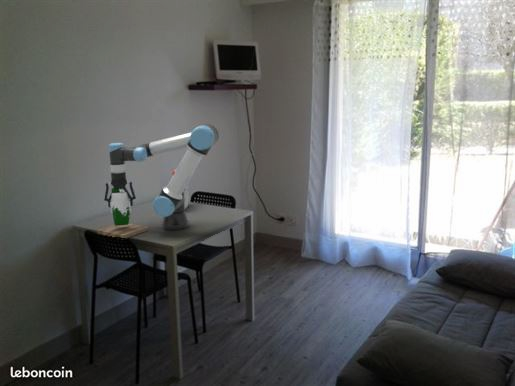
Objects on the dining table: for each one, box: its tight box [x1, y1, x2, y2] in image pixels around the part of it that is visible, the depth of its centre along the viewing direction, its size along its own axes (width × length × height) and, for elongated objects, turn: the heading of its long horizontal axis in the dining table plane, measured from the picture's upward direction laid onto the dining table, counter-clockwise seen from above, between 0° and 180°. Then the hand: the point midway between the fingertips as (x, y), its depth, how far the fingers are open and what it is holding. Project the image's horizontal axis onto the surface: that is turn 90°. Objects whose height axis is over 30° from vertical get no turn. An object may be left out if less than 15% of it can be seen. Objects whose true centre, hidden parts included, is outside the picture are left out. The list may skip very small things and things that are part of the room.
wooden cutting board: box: [96, 223, 148, 239], centre depth 248 cm, size 20×18×2 cm
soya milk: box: [111, 187, 131, 226], centre depth 245 cm, size 9×9×20 cm
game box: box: [172, 168, 190, 210], centre depth 295 cm, size 21×6×27 cm, turn 178°
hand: (121, 212), depth 246 cm, fingers closed on soya milk, 9 cm apart
